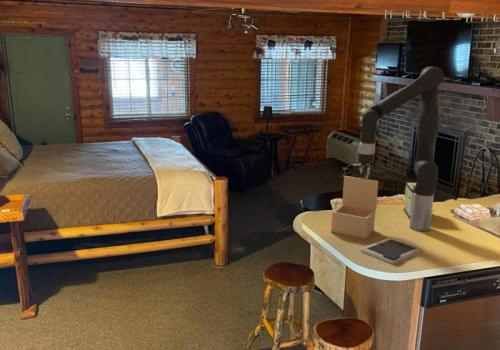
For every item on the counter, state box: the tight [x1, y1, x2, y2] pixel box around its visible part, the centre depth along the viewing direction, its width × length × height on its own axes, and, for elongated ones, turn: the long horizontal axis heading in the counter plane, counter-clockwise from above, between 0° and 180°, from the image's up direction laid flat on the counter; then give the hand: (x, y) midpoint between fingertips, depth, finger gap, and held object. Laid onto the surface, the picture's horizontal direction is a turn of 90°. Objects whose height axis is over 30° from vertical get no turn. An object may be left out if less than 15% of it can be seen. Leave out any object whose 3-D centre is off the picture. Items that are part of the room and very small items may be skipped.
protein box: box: [403, 181, 416, 220], centre depth 245 cm, size 10×16×16 cm
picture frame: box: [360, 237, 423, 265], centre depth 199 cm, size 16×3×21 cm
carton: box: [330, 204, 377, 241], centre depth 220 cm, size 16×14×10 cm
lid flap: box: [341, 175, 379, 210], centre depth 226 cm, size 16×14×7 cm
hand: (363, 187), depth 227 cm, fingers closed on lid flap
